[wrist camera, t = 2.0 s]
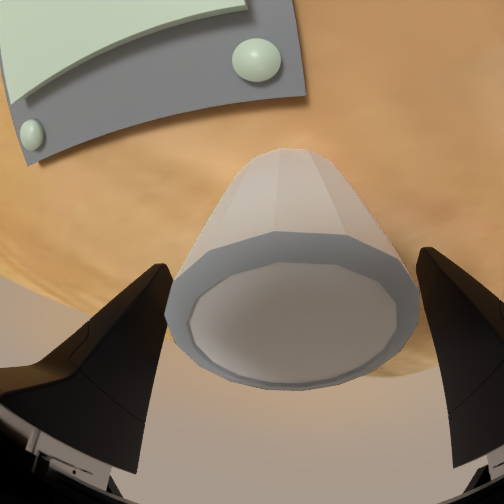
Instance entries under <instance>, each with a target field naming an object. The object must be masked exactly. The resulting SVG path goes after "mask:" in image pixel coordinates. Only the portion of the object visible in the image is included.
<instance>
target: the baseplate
mask: <svg viewBox="0 0 504 504" xmlns="http://www.w3.org/2000/svg"><path fill="white" fill-rule="evenodd" d="M0 67H1V72H2V78H3V83H4V88H5V92H6V97H7V101H8V105H9V109H10V113H11V116H12V120H13V124H14V127H15V130H16V134H17V137H18V140H19V143H20V146H21V149H22V152H23V155H24V157H25V160H26V163H27V165H28V166H30V165H32V164H34V163H36V162H38V161H40V160H42V159H44V158H47V157H49V156H51V155H53V154H56V153H58V152H60V151H63V150H65V149H68V148H70V147H73V146H75V145H78V144H80V143H83V142H86V141H88V140H91V139H94V138H97V137H99V136H102V135H105V134H108V133H111V132H114V131H117V130H120V129H124V128H127V127H130V126H133V125H137V124H140V123H144V122H148V121H151V120H155V119H159V118H163V117H167V116H171V115H175V114H180V113H184V112H189V111H193V110H198V109H203V108H209V107H214V106H220V105H226V104H232V103H239V102H246V101H254V100H262V99H272V98H282V97H295V96H306V91H305V82H304V74H303V66H302V59H301V52H300V45H299V38H298V32H297V25H296V20H295V14H294V8H293V3H292V0H0Z"/></svg>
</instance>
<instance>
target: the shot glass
mask: <svg viewBox="0 0 504 504" xmlns="http://www.w3.org/2000/svg"><path fill="white" fill-rule="evenodd" d="M419 300H420V291H419V289H418V288H417V286H416V284H415V282H414V280H413V279H412V277H411V275H410V273H409V272H408V270H407V268H406V267H405V265H404V263H403V262H402V260H401V258H400V257H399V255H398V253H397V252H396V250H395V249H394V247H393V245H392V244H391V242H390V241H389V239H388V238H387V236H386V234H385V233H384V231H383V230H382V228H381V227H380V225H379V224H378V222H377V221H376V219H375V218H374V216H373V215H372V214H371V212H370V211H369V209H368V208H367V206H366V205H365V204H364V202H363V201H362V199H361V198H360V197H359V195H358V194H357V192H356V191H355V190H354V188H353V187H352V186H351V184H350V183H349V182H348V180H347V179H346V178H345V177H344V175H343V174H342V173H341V172H340V171H339V169H338V168H337V167H336V166H335V165H334V164H333V162H332V161H331V160H329V159H326V158H324V157H322V156H320V155H318V154H316V153H314V152H312V151H310V150H308V149H293V148H278V149H275V150H272V151H270V152H267V153H264V154H261V155H258V156H255V157H254V158H253V159H252V160H251V161H250V162H248V163H247V164H246V165H245V166H244V167H243V168H242V169H241V170H240V171H239V172H238V173H237V174H236V175H235V177H234V178H233V180H232V182H231V183H230V185H229V186H228V188H227V190H226V191H225V193H224V195H223V196H222V198H221V199H220V201H219V203H218V204H217V206H216V208H215V209H214V211H213V213H212V214H211V216H210V218H209V219H208V221H207V223H206V224H205V226H204V228H203V230H202V231H201V233H200V235H199V236H198V238H197V240H196V242H195V243H194V245H193V247H192V248H191V250H190V252H189V254H188V256H187V257H186V259H185V261H184V263H183V264H182V266H181V268H180V270H179V272H178V273H177V275H176V277H175V279H174V281H173V283H172V286H171V290H170V294H169V298H168V302H167V305H166V309H165V313H164V316H165V318H166V321H167V324H168V326H169V329H170V331H171V334H172V337H173V339H174V342H175V344H176V345H178V346H179V347H180V348H181V349H182V350H183V351H184V352H185V353H186V354H187V355H188V356H189V357H190V358H191V359H192V360H193V361H194V362H195V363H197V364H198V365H199V366H200V367H203V368H204V369H206V370H208V371H210V372H212V373H214V374H216V375H218V376H220V377H223V378H224V379H227V380H229V381H232V382H236V383H239V384H243V385H248V386H252V387H256V388H261V389H266V390H292V391H304V390H311V389H317V388H323V387H329V386H334V385H340V384H342V383H345V382H347V381H350V380H353V379H355V378H358V377H360V376H363V375H365V374H367V373H370V372H372V371H374V370H375V369H377V368H378V367H379V366H381V365H382V364H384V363H385V362H386V361H388V360H389V359H390V358H392V357H393V356H394V355H396V354H397V353H398V352H399V351H401V349H402V348H403V346H404V345H405V343H406V342H407V340H408V339H409V337H410V336H411V334H412V332H413V331H414V329H415V328H416V326H417V324H418V317H419Z"/></svg>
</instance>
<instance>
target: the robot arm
mask: <svg viewBox="0 0 504 504" xmlns="http://www.w3.org/2000/svg"><path fill="white" fill-rule="evenodd" d="M416 273H417V278H418V282H419V286H420V291H421V296H422V300H423V305H424V309H425V313H426V316H427V320H428V323H429V327H430V330H431V334H432V338H433V342H434V346H435V350H436V354H437V358H438V362H439V367H440V371H441V376H442V381H443V386H444V392H445V397H446V404H447V410H448V414H449V415H448V418H449V426H450V435H451V446H452V459H453V468H456V467H459V466H462V465H464V464H467V463H469V462H471V461H474V460H476V459H478V458H480V457H483V456H485V455H487V457H488V465H485V466H483V467H481V468H479V469H478V470H477V472H476V474H475V475H474V476H473V478H472V480H471V481H470V483H469V485H468V486H467V488H466V490H465V491H464V492H463V494H461V495H459V496H457V497H454V498H452V499H449V500H446V501H444V502H441V503H438V504H504V303H503V302H502V301H501V300H499V298H498V297H496V296H495V295H494V294H493V293H492V292H490V291H489V290H488V289H487V288H486V287H484V286H483V285H482V284H481V283H479V282H478V281H477V280H476V279H474V278H473V277H472V276H471V275H469V274H468V273H467V272H465V271H464V270H463V269H462V268H460V267H459V266H458V265H456V264H455V263H454V262H452V261H451V260H449V259H448V258H447V257H445V256H444V255H443V254H441V253H440V252H438V251H437V250H436V249H434V248H433V247H423V248H421V250H420V253H419V257H418V260H417V264H416ZM172 283H173V278H172V276H171V274H170V271H169V269H168V267H167V265H166V264H164V263H161V264H154V265H153V266H152V267H151V268H149V269H148V270H147V271H146V272H144V273H143V274H142V275H141V276H140V277H138V278H137V279H136V280H135V281H134V282H132V283H131V284H130V285H129V286H128V287H127V288H125V289H124V290H123V291H122V292H121V293H119V294H118V295H117V296H116V297H115V298H114V299H112V300H111V301H110V302H109V303H108V304H107V305H106V306H104V307H103V308H102V309H101V310H100V311H99V312H98V313H96V314H95V315H94V316H93V317H92V318H91V319H90V321H87V322H86V323H85V324H84V325H83V326H82V327H81V328H80V329H79V330H77V331H76V332H75V333H74V334H73V335H72V336H71V337H69V338H68V339H67V340H65V341H64V342H63V343H62V344H61V345H59V346H58V347H57V348H56V349H54V350H53V351H52V352H51V353H49V354H48V355H47V356H46V357H44V358H43V359H42V360H40V361H39V362H37V363H35V364H33V365H29V366H20V367H9V368H0V504H138V503H135V502H132V501H129V500H127V499H124V498H123V496H122V495H121V493H120V491H119V490H118V488H117V486H116V484H115V483H114V481H113V479H112V477H111V476H110V472H111V468H112V467H115V468H118V469H121V470H124V471H127V472H130V473H133V474H136V473H137V468H138V462H139V456H140V450H141V444H142V439H143V433H144V428H145V424H144V423H145V422H146V416H147V411H148V406H149V401H150V397H151V392H152V387H153V383H154V378H155V374H156V370H157V365H158V361H159V356H160V352H161V349H162V344H163V340H164V336H165V333H166V329H167V321H166V318H165V316H164V313H165V309H166V305H167V302H168V298H169V294H170V290H171V286H172Z"/></svg>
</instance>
